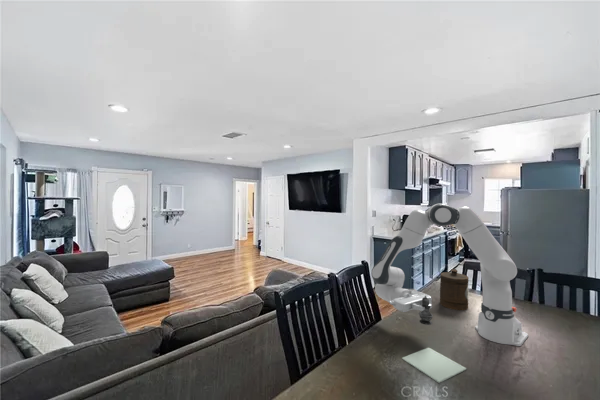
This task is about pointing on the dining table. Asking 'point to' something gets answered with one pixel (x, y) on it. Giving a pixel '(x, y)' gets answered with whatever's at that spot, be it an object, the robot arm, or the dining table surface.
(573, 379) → the dining table surface
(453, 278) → the wooden container
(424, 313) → the grey metal vase shape
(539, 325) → the dining table surface
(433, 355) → the mat
